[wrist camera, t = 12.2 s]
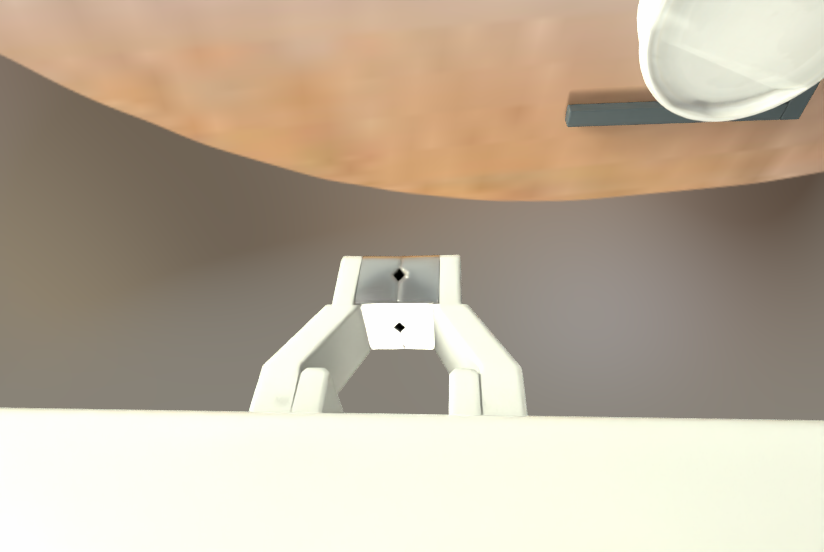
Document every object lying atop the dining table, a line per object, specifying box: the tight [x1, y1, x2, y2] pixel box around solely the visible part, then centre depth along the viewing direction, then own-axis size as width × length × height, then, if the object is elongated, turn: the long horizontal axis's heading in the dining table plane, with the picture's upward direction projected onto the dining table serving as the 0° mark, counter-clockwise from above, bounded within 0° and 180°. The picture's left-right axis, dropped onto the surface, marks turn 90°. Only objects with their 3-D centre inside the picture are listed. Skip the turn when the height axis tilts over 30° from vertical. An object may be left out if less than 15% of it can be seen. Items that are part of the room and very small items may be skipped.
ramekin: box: [637, 0, 824, 122], centre depth 26 cm, size 11×11×5 cm
